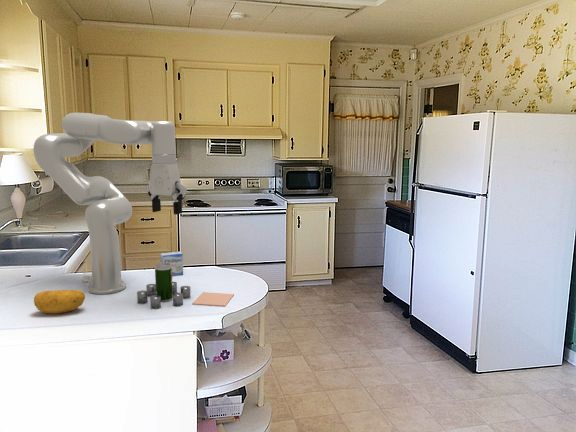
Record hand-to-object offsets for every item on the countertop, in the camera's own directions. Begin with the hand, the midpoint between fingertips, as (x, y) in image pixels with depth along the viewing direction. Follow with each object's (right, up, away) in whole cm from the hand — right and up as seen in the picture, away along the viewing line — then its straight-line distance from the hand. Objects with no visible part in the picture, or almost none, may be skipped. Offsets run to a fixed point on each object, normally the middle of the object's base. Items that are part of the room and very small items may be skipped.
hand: (167, 212), depth 159 cm
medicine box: (-6, -24, +30) cm, 39 cm away
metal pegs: (-2, -29, +3) cm, 29 cm away
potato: (-31, -31, -9) cm, 44 cm away
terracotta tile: (+15, -29, +3) cm, 33 cm away
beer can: (-2, -29, +3) cm, 29 cm away
